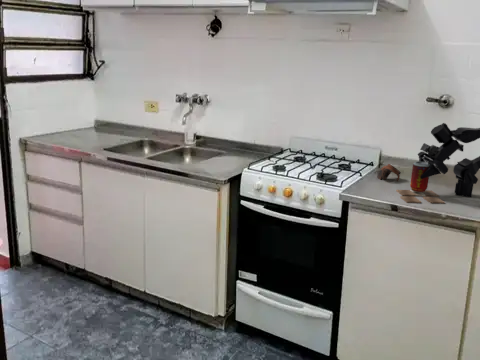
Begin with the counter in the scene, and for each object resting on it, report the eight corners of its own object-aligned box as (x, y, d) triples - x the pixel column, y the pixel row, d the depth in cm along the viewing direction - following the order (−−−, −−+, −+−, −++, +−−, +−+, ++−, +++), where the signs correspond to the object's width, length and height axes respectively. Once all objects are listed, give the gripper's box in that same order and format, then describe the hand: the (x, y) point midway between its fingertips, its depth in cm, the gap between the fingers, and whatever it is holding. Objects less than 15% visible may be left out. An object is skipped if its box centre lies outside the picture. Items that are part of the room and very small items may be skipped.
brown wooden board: (431, 191, 222) (431, 190, 221) (438, 196, 215) (438, 195, 215) (396, 191, 220) (396, 189, 220) (402, 195, 213) (402, 194, 213)
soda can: (424, 188, 220) (428, 161, 217) (428, 193, 213) (432, 165, 210) (408, 187, 221) (411, 160, 217) (411, 192, 214) (415, 164, 211)
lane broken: (436, 198, 212) (437, 196, 212) (444, 203, 206) (444, 202, 205) (400, 197, 211) (400, 196, 211) (406, 202, 204) (407, 201, 204)
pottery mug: (378, 176, 246) (388, 162, 243) (393, 188, 242) (404, 174, 240) (372, 174, 235) (383, 160, 233) (388, 187, 231) (399, 173, 229)
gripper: (424, 133, 220) (397, 157, 222) (445, 141, 202) (415, 168, 204) (439, 151, 223) (412, 174, 225) (460, 161, 205) (431, 186, 207)
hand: (417, 175), depth 215 cm, fingers closed on soda can, 7 cm apart
